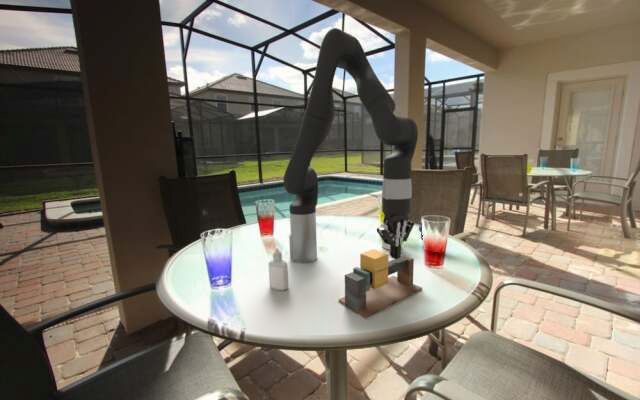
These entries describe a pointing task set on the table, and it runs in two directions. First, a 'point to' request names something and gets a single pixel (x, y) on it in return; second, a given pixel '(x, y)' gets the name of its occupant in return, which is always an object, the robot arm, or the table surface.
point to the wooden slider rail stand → (376, 300)
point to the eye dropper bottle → (278, 272)
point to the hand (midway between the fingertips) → (395, 257)
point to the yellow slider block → (375, 267)
